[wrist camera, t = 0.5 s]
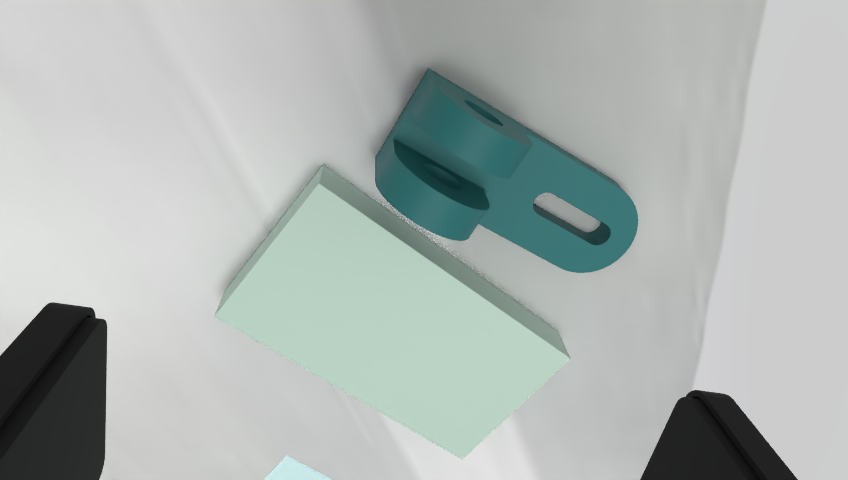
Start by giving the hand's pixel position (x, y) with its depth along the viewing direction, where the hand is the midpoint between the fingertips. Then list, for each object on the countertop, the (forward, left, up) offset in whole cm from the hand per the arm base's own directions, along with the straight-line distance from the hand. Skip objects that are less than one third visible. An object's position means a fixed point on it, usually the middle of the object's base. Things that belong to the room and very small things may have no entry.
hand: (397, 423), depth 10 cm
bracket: (+1, +12, -33) cm, 35 cm away
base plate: (+14, +12, -33) cm, 37 cm away
